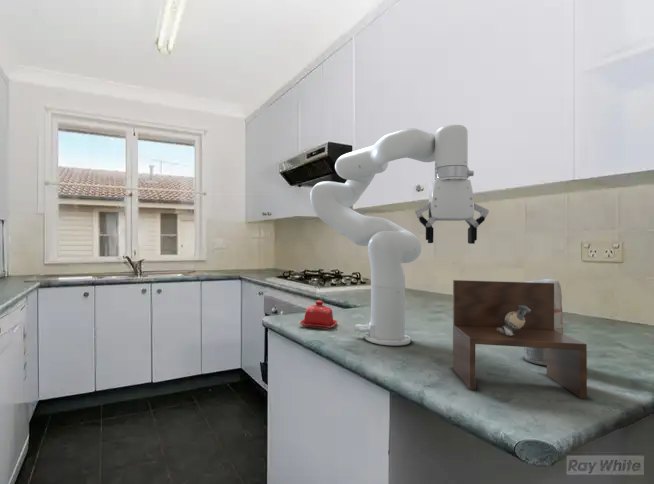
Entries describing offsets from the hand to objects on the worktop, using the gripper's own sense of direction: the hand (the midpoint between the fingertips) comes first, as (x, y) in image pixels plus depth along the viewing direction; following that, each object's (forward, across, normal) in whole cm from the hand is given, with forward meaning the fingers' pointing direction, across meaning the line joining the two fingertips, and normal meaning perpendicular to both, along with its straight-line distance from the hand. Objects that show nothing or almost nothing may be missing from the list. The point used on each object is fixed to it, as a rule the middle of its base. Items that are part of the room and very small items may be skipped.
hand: (450, 243), depth 94 cm
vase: (+18, -8, +17) cm, 27 cm away
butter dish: (+28, +35, -26) cm, 52 cm away
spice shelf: (+28, -8, +16) cm, 33 cm away
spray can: (+28, -21, 0) cm, 35 cm away
